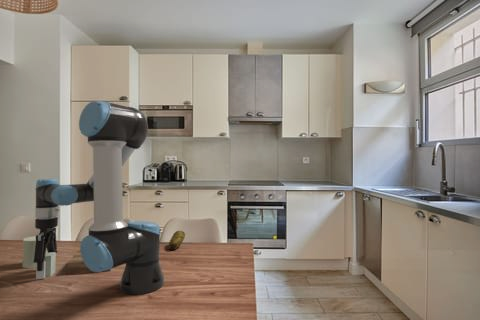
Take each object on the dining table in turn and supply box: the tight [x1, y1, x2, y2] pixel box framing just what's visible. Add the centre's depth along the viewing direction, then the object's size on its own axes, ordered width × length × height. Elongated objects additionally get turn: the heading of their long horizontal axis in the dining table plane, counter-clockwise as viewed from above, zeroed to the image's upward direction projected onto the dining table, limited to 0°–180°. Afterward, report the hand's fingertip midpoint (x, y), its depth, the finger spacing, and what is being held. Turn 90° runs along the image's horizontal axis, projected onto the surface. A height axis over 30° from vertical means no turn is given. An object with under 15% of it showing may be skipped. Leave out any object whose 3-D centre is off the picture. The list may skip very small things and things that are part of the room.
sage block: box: [44, 252, 57, 278], centre depth 114 cm, size 5×5×8 cm
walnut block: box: [66, 250, 112, 275], centre depth 123 cm, size 16×16×5 cm
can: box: [21, 235, 48, 269], centre depth 125 cm, size 9×9×12 cm
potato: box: [168, 230, 186, 250], centre depth 152 cm, size 8×13×8 cm, turn 154°
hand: (45, 273), depth 113 cm, fingers open, 9 cm apart
